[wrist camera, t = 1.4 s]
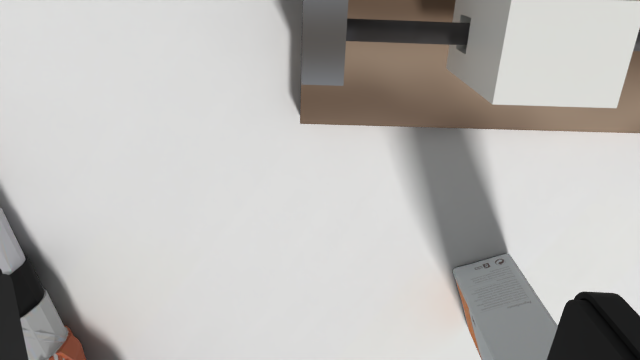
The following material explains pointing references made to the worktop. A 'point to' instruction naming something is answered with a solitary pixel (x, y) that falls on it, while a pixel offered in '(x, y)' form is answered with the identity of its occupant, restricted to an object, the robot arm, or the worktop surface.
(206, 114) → the worktop surface
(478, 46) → the sleeve
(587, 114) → the cord rack
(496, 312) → the skincare box
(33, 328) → the cable
